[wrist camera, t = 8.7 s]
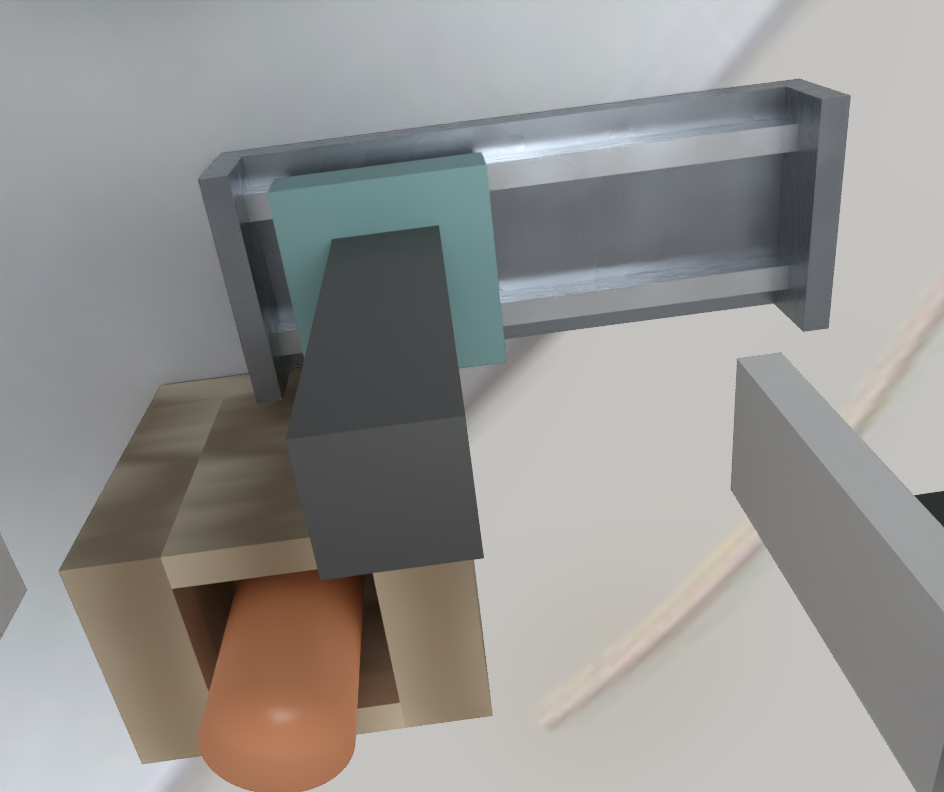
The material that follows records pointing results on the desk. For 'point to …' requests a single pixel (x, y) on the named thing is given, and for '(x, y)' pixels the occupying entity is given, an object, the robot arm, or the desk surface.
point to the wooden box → (244, 574)
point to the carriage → (388, 356)
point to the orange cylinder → (286, 683)
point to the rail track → (586, 211)
